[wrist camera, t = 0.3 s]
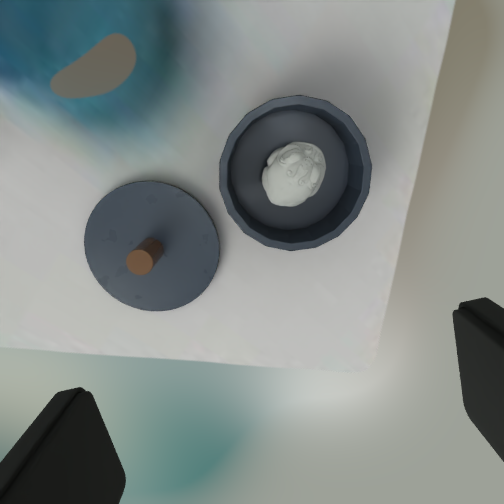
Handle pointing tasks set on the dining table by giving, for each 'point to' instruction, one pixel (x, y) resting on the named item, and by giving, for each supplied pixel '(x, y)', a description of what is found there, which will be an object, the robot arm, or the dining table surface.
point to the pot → (315, 207)
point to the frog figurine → (293, 173)
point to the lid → (151, 246)
